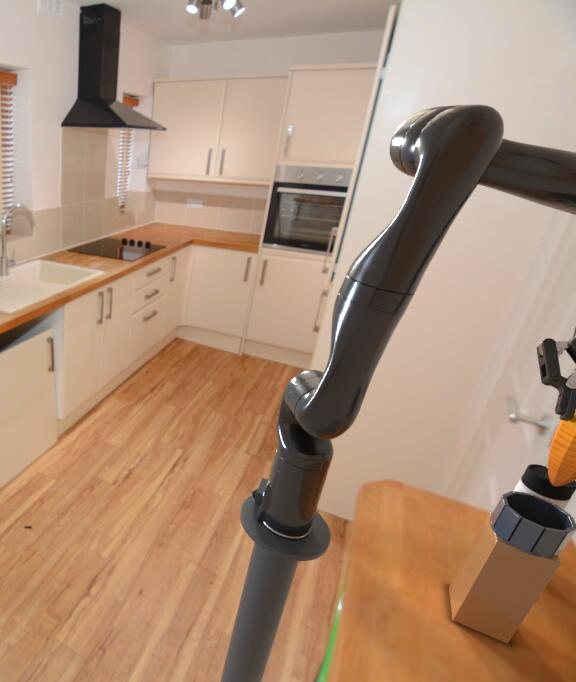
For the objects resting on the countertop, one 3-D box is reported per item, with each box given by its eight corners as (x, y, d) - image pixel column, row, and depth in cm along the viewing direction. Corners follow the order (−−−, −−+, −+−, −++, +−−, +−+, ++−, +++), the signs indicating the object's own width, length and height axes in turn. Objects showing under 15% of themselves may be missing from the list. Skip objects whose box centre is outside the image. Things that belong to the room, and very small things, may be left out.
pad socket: (449, 621, 74) (508, 517, 64) (445, 584, 80) (498, 484, 70) (511, 648, 70) (584, 541, 60) (502, 607, 76) (567, 504, 66)
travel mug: (479, 555, 85) (525, 471, 77) (487, 536, 89) (532, 455, 80) (524, 578, 81) (578, 492, 72) (530, 557, 85) (582, 473, 76)
